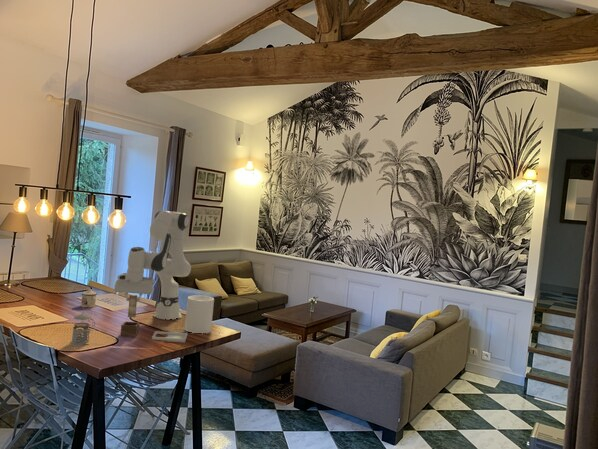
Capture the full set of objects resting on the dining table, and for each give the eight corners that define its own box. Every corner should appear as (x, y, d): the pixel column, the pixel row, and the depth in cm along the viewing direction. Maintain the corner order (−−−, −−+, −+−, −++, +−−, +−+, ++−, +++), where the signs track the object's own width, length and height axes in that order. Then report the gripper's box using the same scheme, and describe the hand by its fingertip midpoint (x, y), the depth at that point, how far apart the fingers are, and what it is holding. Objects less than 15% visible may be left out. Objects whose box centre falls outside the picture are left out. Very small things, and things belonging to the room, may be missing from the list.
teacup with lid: (78, 305, 298) (79, 288, 298) (90, 304, 306) (92, 287, 306) (87, 309, 292) (89, 292, 292) (100, 307, 299) (102, 290, 299)
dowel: (128, 315, 247) (130, 294, 246) (136, 315, 247) (138, 294, 247) (127, 317, 243) (128, 295, 242) (134, 317, 243) (136, 296, 243)
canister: (190, 325, 279) (193, 294, 278) (214, 328, 277) (217, 297, 277) (180, 331, 263) (183, 298, 262) (206, 335, 261) (209, 302, 261)
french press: (65, 342, 224) (69, 294, 223) (87, 338, 234) (91, 292, 233) (76, 347, 218) (80, 297, 218) (97, 343, 228) (102, 295, 227)
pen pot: (123, 333, 248) (124, 321, 248) (138, 334, 249) (139, 322, 249) (120, 337, 240) (121, 325, 240) (135, 338, 241) (136, 326, 241)
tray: (155, 334, 253) (155, 331, 253) (187, 336, 255) (187, 332, 255) (151, 340, 241) (151, 337, 241) (185, 342, 244) (185, 339, 244)
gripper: (155, 276, 249) (153, 300, 249) (117, 274, 246) (115, 298, 246) (153, 278, 242) (151, 303, 243) (114, 276, 239) (112, 301, 240)
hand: (133, 300), depth 245 cm, fingers closed on dowel, 4 cm apart
